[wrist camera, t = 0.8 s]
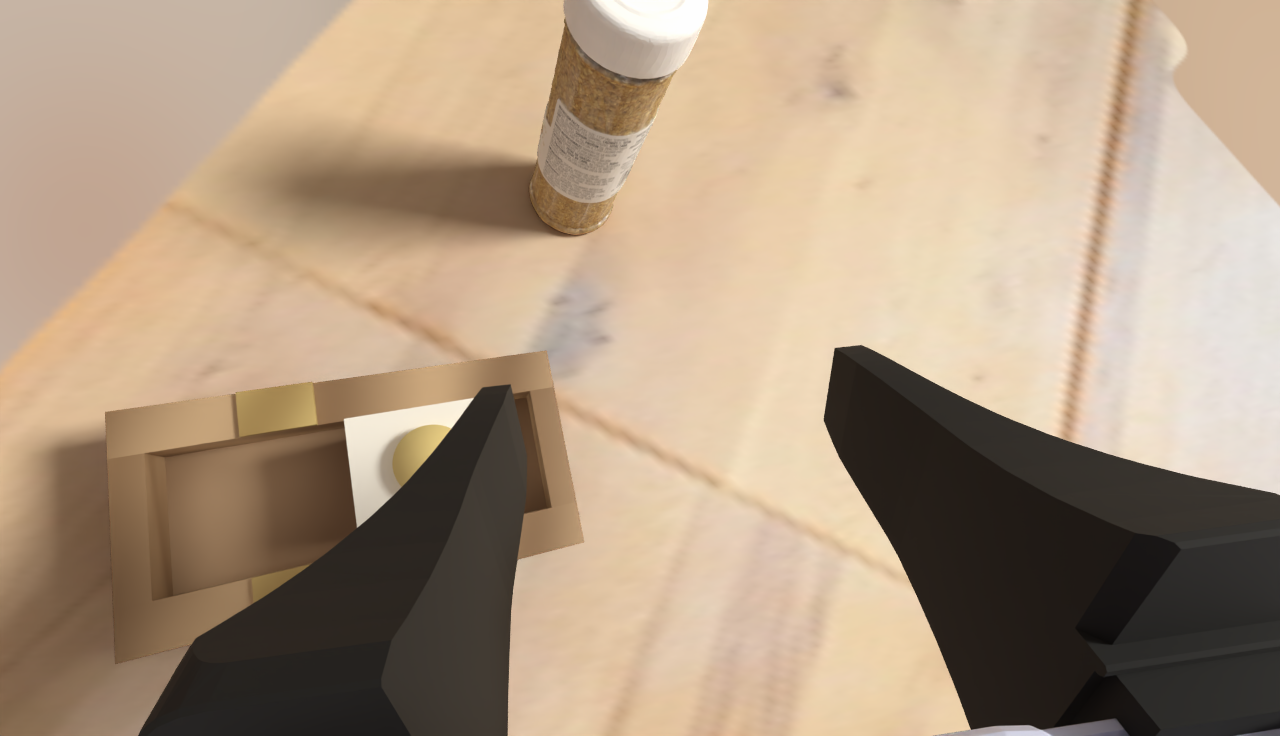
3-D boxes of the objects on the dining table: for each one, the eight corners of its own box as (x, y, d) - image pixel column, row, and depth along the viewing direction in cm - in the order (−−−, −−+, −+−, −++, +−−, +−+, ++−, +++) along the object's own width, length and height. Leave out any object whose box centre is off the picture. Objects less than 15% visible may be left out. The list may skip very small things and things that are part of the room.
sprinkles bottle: (559, 146, 30) (624, -109, 18) (627, 197, 31) (736, -17, 18) (509, 202, 29) (543, -37, 16) (582, 255, 29) (668, 62, 17)
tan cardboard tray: (536, 370, 27) (547, 348, 24) (568, 538, 26) (585, 542, 22) (159, 427, 22) (101, 411, 19) (172, 640, 21) (111, 665, 17)
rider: (493, 413, 24) (499, 390, 20) (509, 505, 23) (519, 502, 19) (364, 435, 22) (340, 416, 18) (377, 535, 21) (355, 540, 17)
